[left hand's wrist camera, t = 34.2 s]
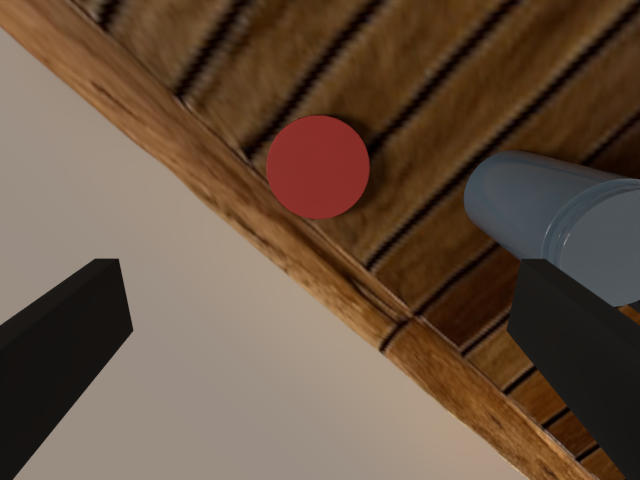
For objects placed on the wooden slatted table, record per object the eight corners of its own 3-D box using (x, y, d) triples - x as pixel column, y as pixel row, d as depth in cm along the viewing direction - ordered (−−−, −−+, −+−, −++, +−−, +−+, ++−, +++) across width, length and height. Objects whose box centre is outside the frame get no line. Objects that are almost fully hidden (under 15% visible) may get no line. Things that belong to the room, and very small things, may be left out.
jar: (517, 245, 41) (633, 330, 26) (447, 214, 39) (525, 284, 24) (568, 171, 38) (730, 218, 23) (494, 135, 37) (614, 159, 22)
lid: (388, 151, 37) (391, 153, 36) (332, 232, 40) (333, 237, 39) (301, 92, 35) (301, 92, 34) (250, 182, 38) (247, 185, 37)
